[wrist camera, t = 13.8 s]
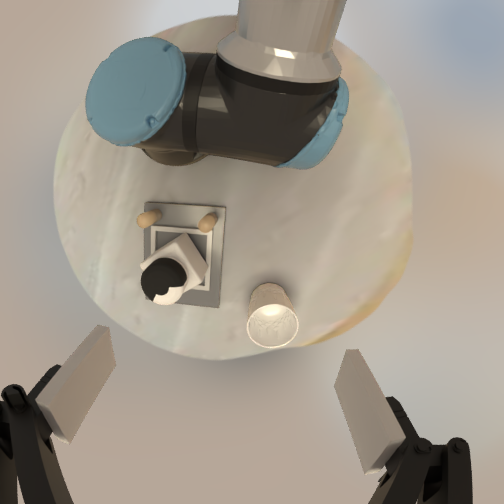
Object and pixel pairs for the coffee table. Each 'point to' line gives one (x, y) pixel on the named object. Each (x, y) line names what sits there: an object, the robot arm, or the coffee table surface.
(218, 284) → the peg board
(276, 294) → the white cup
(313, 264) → the coffee table surface
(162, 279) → the medicine bottle
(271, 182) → the coffee table surface
